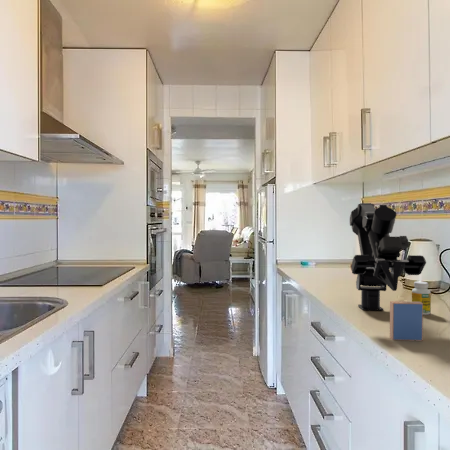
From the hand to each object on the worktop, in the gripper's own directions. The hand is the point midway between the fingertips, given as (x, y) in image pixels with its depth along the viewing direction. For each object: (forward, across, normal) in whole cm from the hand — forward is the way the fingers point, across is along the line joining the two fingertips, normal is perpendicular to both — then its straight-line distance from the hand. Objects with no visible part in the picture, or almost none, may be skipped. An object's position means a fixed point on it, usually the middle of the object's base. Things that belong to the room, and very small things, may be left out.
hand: (395, 289), depth 104 cm
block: (+13, 0, +2) cm, 13 cm away
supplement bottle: (-7, +15, +22) cm, 28 cm away
